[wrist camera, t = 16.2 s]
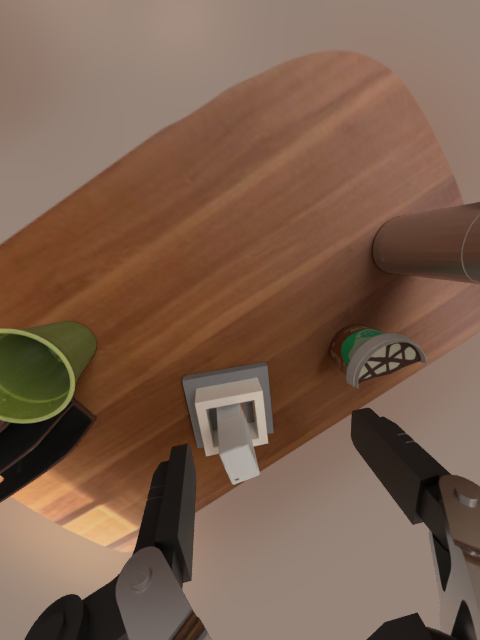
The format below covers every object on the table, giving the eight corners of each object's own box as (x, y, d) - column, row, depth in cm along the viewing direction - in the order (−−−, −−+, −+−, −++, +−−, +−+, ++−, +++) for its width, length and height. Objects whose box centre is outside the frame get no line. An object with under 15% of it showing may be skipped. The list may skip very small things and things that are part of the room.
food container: (378, 309, 42) (429, 326, 32) (382, 338, 43) (430, 362, 34) (316, 330, 41) (348, 354, 32) (322, 359, 43) (354, 390, 34)
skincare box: (247, 416, 43) (261, 476, 31) (225, 423, 42) (232, 486, 31) (237, 390, 41) (248, 444, 29) (214, 398, 41) (217, 455, 29)
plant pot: (129, 346, 37) (97, 384, 27) (74, 387, 38) (22, 440, 27) (71, 289, 34) (6, 307, 23) (12, 335, 34) (-77, 373, 24)
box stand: (265, 361, 42) (273, 377, 36) (271, 427, 46) (279, 449, 41) (183, 376, 40) (179, 394, 35) (198, 442, 45) (196, 467, 39)
